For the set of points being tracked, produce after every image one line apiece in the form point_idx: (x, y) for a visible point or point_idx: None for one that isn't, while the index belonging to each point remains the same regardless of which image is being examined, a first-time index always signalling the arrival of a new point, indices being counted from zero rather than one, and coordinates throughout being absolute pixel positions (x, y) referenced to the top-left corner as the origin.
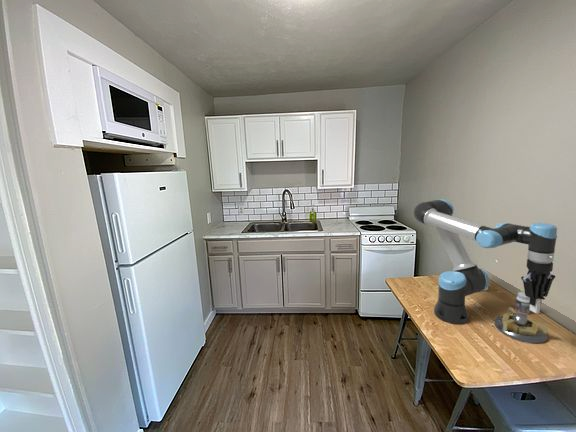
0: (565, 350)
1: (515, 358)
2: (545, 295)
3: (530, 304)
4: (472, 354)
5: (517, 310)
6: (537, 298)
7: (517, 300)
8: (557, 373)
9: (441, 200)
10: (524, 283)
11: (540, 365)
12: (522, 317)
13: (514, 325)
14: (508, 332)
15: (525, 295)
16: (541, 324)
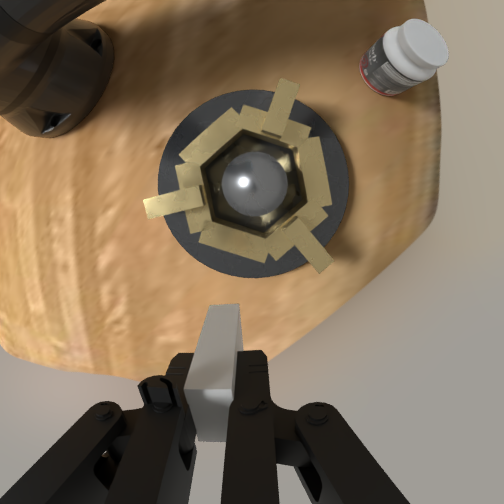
0: (312, 313)
1: (118, 324)
2: (300, 467)
3: (201, 335)
4: (27, 288)
5: (361, 68)
6: (217, 430)
7: (381, 43)
8: None
9: None
10: None
11: (169, 357)
12: (250, 200)
13: (195, 213)
14: (171, 215)
15: (97, 403)
16: (311, 251)
